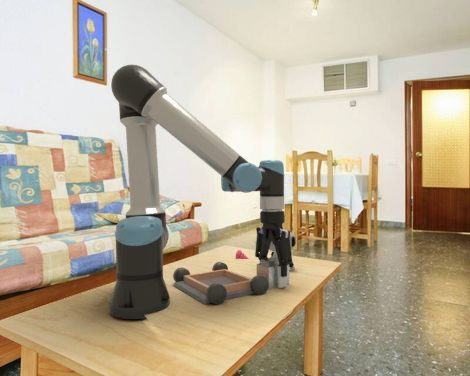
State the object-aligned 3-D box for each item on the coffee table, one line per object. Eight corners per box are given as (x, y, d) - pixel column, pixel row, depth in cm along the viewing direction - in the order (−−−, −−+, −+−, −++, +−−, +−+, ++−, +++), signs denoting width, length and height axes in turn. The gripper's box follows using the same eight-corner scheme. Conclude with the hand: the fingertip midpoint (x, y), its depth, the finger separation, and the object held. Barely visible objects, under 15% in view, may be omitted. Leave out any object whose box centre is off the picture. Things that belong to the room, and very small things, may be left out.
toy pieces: (232, 264, 138) (232, 253, 138) (237, 258, 149) (237, 248, 149) (262, 265, 136) (262, 253, 136) (265, 259, 147) (265, 249, 147)
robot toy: (298, 270, 125) (298, 228, 125) (295, 273, 121) (294, 230, 121) (266, 267, 131) (266, 227, 131) (262, 270, 127) (261, 228, 126)
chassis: (208, 306, 88) (208, 286, 88) (171, 284, 108) (171, 268, 108) (269, 292, 99) (269, 275, 99) (226, 275, 119) (226, 260, 119)
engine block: (268, 289, 103) (268, 262, 103) (256, 284, 108) (256, 259, 108) (289, 285, 107) (289, 259, 107) (276, 280, 112) (276, 256, 112)
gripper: (304, 211, 101) (305, 289, 101) (261, 208, 118) (262, 275, 118) (285, 212, 97) (286, 294, 97) (243, 209, 114) (244, 278, 114)
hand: (273, 283), depth 107 cm, fingers open, 8 cm apart
